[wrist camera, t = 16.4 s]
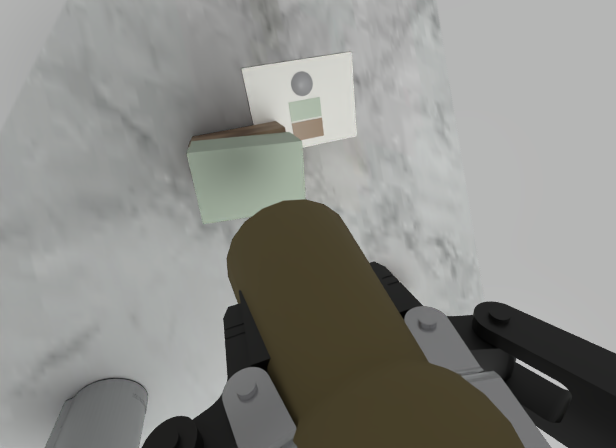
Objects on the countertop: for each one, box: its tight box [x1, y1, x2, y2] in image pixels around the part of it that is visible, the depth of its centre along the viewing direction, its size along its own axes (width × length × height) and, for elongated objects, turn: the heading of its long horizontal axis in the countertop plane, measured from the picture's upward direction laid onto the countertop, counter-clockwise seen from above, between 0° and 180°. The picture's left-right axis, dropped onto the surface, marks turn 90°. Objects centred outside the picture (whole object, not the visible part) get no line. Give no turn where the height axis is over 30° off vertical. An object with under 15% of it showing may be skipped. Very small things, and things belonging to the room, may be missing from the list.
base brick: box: [189, 121, 286, 146], centre depth 31 cm, size 9×6×5 cm, turn 98°
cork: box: [227, 199, 525, 448], centre depth 9 cm, size 6×6×11 cm
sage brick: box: [186, 132, 306, 224], centre depth 27 cm, size 9×6×5 cm, turn 93°
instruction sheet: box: [241, 52, 357, 148], centre depth 33 cm, size 12×9×1 cm
